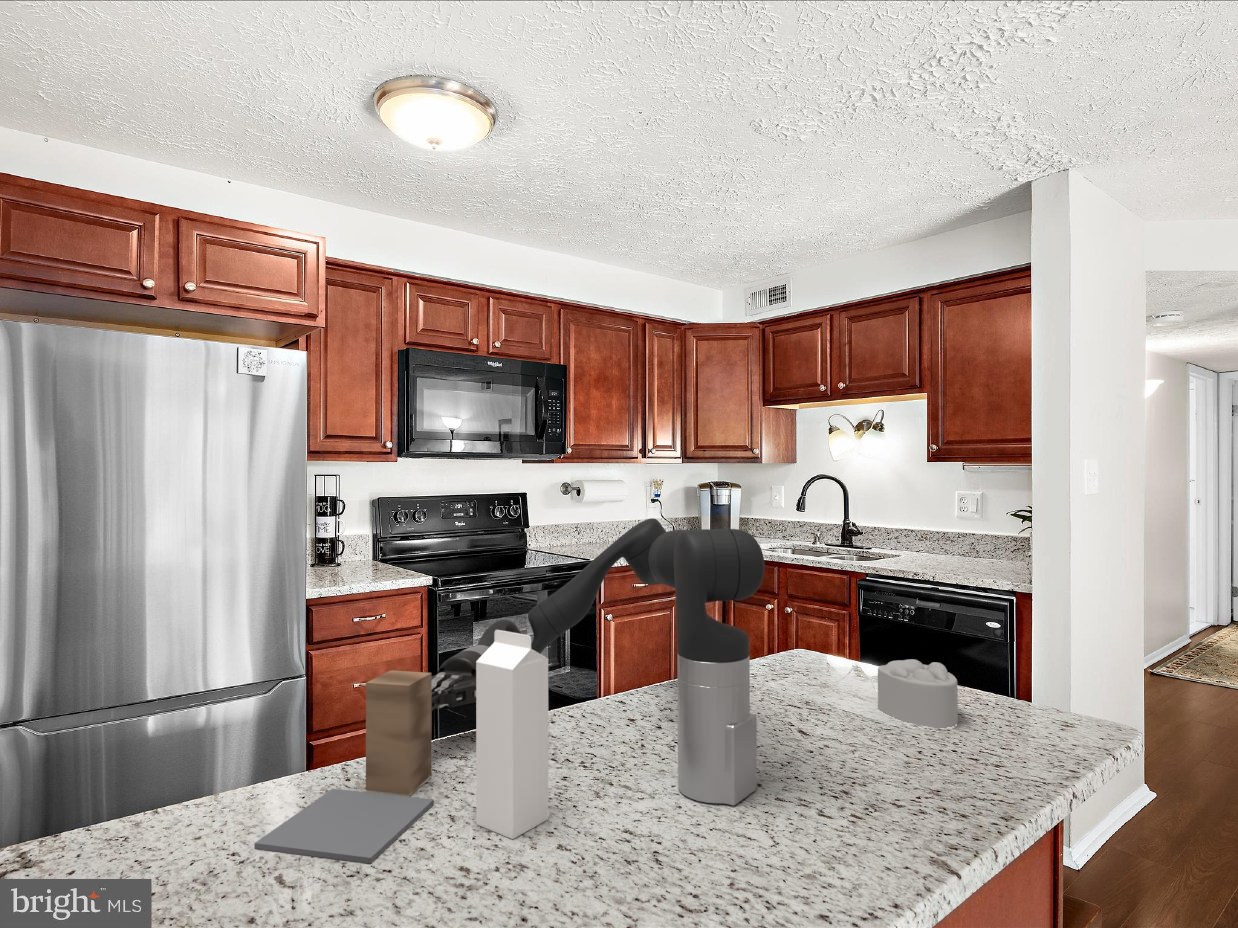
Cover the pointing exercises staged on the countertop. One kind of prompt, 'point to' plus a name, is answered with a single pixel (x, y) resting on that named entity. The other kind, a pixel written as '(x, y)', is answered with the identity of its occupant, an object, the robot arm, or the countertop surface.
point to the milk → (511, 736)
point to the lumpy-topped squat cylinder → (918, 693)
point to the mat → (346, 825)
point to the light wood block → (398, 732)
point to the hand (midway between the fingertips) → (418, 707)
